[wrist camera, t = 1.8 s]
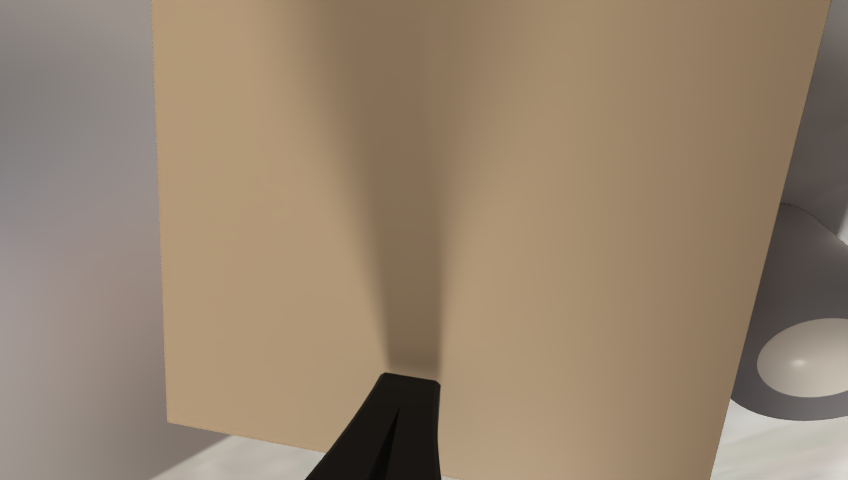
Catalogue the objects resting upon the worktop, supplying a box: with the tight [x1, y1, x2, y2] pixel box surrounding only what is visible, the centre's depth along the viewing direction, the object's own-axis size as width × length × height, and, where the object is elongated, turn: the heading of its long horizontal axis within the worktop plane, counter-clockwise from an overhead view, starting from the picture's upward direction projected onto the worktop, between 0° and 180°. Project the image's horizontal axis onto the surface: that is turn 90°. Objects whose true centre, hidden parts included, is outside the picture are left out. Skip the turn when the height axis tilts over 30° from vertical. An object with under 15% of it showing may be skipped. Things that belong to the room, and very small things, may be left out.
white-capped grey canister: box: [731, 203, 848, 421], centre depth 15 cm, size 5×5×5 cm
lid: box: [151, 0, 831, 480], centre depth 11 cm, size 13×14×1 cm
